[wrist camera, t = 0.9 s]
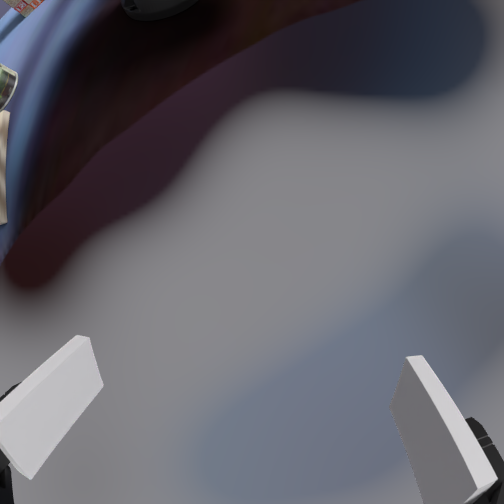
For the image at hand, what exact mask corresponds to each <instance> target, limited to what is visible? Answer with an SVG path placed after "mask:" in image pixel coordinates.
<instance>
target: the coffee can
mask: <svg viewBox="0 0 504 504" xmlns="http://www.w3.org/2000/svg"><path fill="white" fill-rule="evenodd" d="M17 83H18V74H17V73H16V72H15V71H12V70H11V69H9V68H7V67H6V66H4V65H2V64H0V112H1V111H2V110H3V109H4V108H5V106H6V105H7V104H8V102H9V101H10V99H11V98H12V96H13V94H14V92H15V89H16V86H17Z"/></svg>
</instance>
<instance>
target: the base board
mask: <svg viewBox="0 0 504 504" xmlns="http://www.w3.org/2000/svg"><path fill="white" fill-rule="evenodd" d="M9 115H10V112H7V111H5V110H3V111H2V112H0V225H2V224H4V223H7V212H6V188H5V171H6V146H7V134H8V124H9Z"/></svg>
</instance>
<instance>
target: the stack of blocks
mask: <svg viewBox="0 0 504 504" xmlns="http://www.w3.org/2000/svg"><path fill="white" fill-rule="evenodd" d="M3 1H5V2H6V3H7V4H8V5H10V6H11V7H12V8H14V9H15V10H16V11H18V12H19V13H20V14H21V15H23V16H24V17H25V18H26V17H27V16H28V15H29V14H30V13H31V12H32V11H33V10H34V9H35V8H37V7H38V6H39V5H40V4H41V3H42V2H43V1H44V0H3Z"/></svg>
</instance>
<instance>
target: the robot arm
mask: <svg viewBox="0 0 504 504" xmlns="http://www.w3.org/2000/svg"><path fill="white" fill-rule="evenodd" d="M198 1H199V0H121V5H122V7H123V9H124V11H125V12H126V14H127V15H128V16H129V17H130V18H132V19H134V20H138V21H154V20H160V19H164V18H167V17H170V16H173V15H176V14H178V13H180V12H182V11H184V10H186V9H188V8H189V7H191V6H192V5H194V4H195V3H196V2H198ZM103 386H104V385H103V382H102V379H101V376H100V373H99V370H98V367H97V363H96V360H95V357H94V353H93V350H92V346H91V342H90V338H88V337H84V336H80V335H76V336H75V337H74V338H72V339H71V340H70V341H69V342H68V343H66V344H65V345H64V346H63V347H62V348H61V349H59V350H58V351H57V352H56V353H55V354H54V355H52V356H51V357H50V358H49V359H48V360H47V361H45V363H43V364H42V365H41V366H40V367H39V368H37V369H36V370H35V371H34V372H33V373H32V374H31V375H29V376H28V377H27V378H26V379H25V380H24V381H23V382H20V383H18V384H16V385H14V386H12V387H11V388H10V389H9V390H8V391H7V392H6V393H5V395H3V396H1V397H0V504H14V499H13V490H12V478H11V470H10V467H9V466H8V464H9V463H10V462H11V463H12V465H13V466H14V467H15V468H16V469H17V470H18V471H19V472H20V473H21V474H23V475H25V476H26V477H27V478H29V479H30V480H31V479H32V478H33V477H34V475H35V474H36V473H37V471H38V470H39V469H40V467H41V466H42V465H43V463H44V462H45V461H46V459H47V457H49V455H50V454H51V453H52V451H53V450H54V449H55V447H56V446H57V445H58V443H59V442H60V441H61V439H62V438H63V437H64V436H65V434H66V433H67V432H68V430H69V429H70V428H71V426H72V425H73V424H74V423H75V422H76V420H77V419H78V418H79V416H80V415H81V414H82V413H83V411H84V410H85V409H86V408H87V406H88V405H89V404H90V402H91V401H92V400H93V399H94V398H95V396H96V395H97V394H98V393H99V391H100V390H101V389H102V387H103ZM389 408H390V410H391V413H392V415H393V418H394V421H395V423H396V426H397V428H398V431H399V434H400V436H401V438H402V441H403V444H404V447H405V449H406V452H407V455H408V458H409V461H410V464H411V466H412V469H413V472H414V475H415V478H416V481H417V484H418V487H419V490H420V493H421V497H422V499H423V503H424V504H504V461H503V459H502V458H501V456H500V454H499V452H498V450H497V449H496V447H495V445H493V444H492V440H491V439H490V437H488V434H487V432H486V431H485V430H484V428H483V426H482V425H481V424H480V423H479V422H477V421H476V420H475V419H474V418H472V417H471V418H467V419H464V418H463V416H462V415H461V413H460V411H459V410H458V408H457V406H456V405H455V403H454V402H453V400H452V399H451V397H450V396H449V394H448V392H447V391H446V389H445V388H444V386H443V385H442V383H441V382H440V380H439V379H438V378H437V376H436V375H435V373H434V372H433V370H432V369H431V367H430V366H429V364H428V363H427V362H426V360H425V359H424V357H423V356H422V355H420V356H410V357H406V359H405V362H404V365H403V369H402V372H401V375H400V378H399V381H398V384H397V387H396V390H395V393H394V395H393V398H392V401H391V403H390V406H389Z"/></svg>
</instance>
